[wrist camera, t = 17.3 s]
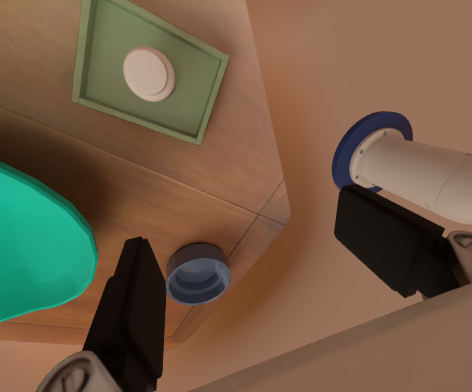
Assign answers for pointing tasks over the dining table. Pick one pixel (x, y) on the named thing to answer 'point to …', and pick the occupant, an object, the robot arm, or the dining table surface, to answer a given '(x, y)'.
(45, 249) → the table top decor
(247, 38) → the dining table surface
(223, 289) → the bowl
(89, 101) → the tray
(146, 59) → the pill bottle
